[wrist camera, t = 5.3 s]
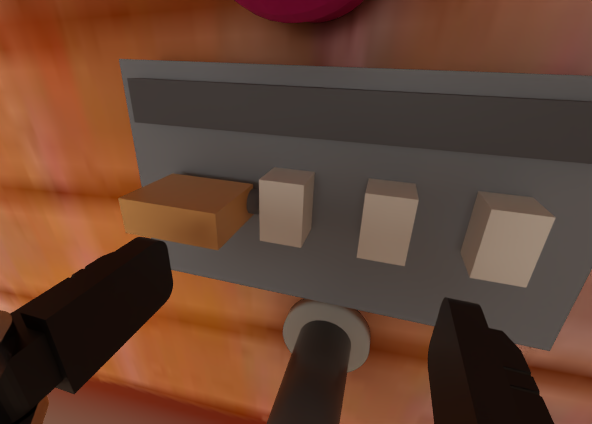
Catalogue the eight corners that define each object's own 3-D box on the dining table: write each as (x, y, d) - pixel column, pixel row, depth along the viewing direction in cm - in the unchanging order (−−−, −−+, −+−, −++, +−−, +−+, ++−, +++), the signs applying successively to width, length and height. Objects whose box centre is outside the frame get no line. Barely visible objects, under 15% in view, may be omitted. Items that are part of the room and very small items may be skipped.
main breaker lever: (263, 182, 15) (225, 215, 12) (264, 212, 16) (227, 252, 12) (170, 170, 16) (110, 196, 13) (174, 198, 17) (118, 231, 14)
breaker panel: (627, 77, 13) (751, 80, 8) (526, 309, 18) (570, 387, 13) (159, 61, 18) (83, 57, 13) (183, 244, 23) (133, 285, 18)
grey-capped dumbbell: (376, 306, 20) (354, 605, 9) (364, 370, 23) (336, 669, 11) (288, 288, 22) (172, 526, 10) (286, 350, 24) (190, 598, 13)
